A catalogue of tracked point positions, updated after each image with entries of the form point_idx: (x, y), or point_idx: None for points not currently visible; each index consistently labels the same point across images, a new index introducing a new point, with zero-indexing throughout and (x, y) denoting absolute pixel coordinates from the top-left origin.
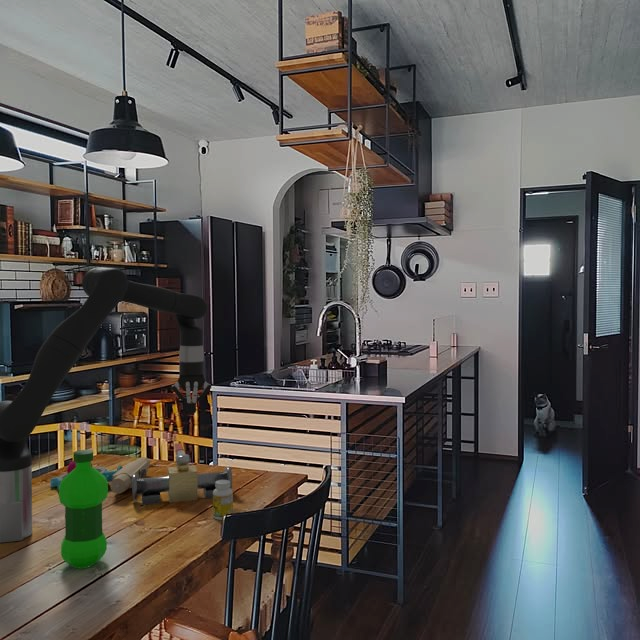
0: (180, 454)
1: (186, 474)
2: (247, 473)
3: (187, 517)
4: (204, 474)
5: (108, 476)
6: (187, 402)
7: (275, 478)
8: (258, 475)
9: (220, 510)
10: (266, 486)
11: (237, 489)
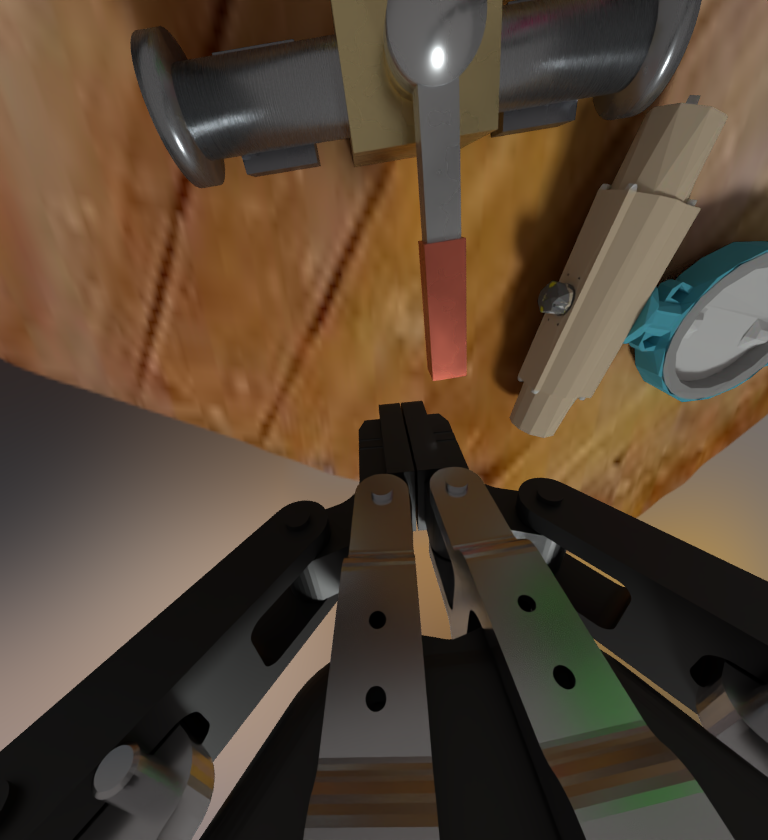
0: (448, 77)
1: None
2: (197, 388)
3: None
4: (296, 70)
5: (669, 291)
6: (472, 471)
7: (73, 321)
8: (151, 363)
9: None
10: (71, 217)
11: (186, 191)
